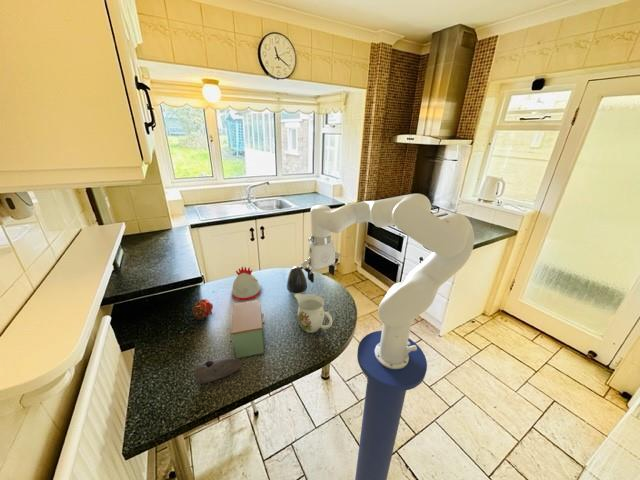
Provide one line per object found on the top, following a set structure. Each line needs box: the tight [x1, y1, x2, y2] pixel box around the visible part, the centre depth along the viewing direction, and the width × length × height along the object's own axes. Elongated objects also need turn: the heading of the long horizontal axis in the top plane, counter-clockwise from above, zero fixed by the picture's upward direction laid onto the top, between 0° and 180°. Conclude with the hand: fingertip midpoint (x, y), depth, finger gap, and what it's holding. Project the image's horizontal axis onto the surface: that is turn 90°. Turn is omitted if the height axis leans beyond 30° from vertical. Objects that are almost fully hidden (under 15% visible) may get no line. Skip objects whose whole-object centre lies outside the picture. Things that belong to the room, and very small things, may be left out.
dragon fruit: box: [191, 298, 214, 321], centre depth 114 cm, size 8×8×12 cm
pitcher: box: [293, 293, 333, 334], centre depth 106 cm, size 11×18×14 cm, turn 58°
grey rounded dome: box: [231, 266, 262, 302], centre depth 128 cm, size 14×14×15 cm
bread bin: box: [230, 299, 266, 359], centre depth 100 cm, size 12×17×13 cm
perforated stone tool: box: [192, 357, 243, 385], centre depth 86 cm, size 15×5×7 cm, turn 110°
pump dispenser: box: [286, 265, 308, 297], centre depth 128 cm, size 10×10×15 cm
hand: (321, 277), depth 103 cm, fingers open, 9 cm apart
